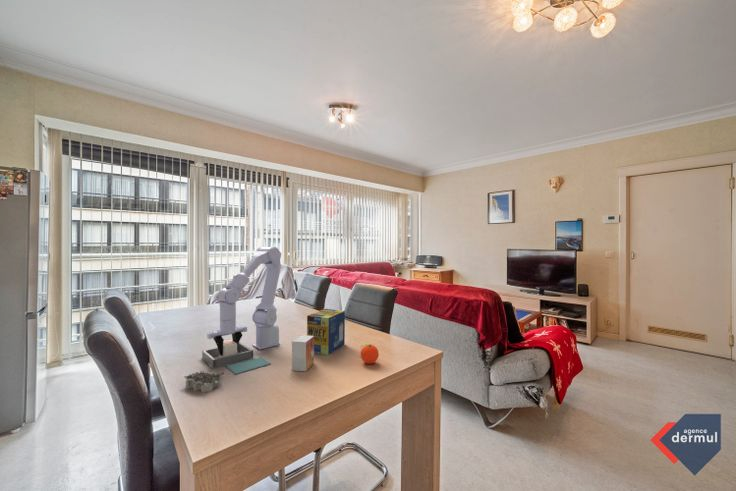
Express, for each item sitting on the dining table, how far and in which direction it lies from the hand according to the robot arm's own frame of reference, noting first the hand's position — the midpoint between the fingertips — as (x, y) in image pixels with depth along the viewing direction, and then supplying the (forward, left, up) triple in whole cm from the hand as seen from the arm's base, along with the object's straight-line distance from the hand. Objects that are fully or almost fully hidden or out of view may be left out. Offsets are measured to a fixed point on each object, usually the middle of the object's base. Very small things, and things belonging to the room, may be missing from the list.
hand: (227, 353), depth 117 cm
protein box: (-35, +18, -2) cm, 39 cm away
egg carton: (+14, +19, -2) cm, 23 cm away
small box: (-17, +28, -2) cm, 33 cm away
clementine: (-37, +42, -2) cm, 56 cm away
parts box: (0, 0, -2) cm, 2 cm away
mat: (-3, +13, -2) cm, 13 cm away
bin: (0, 0, -2) cm, 2 cm away
